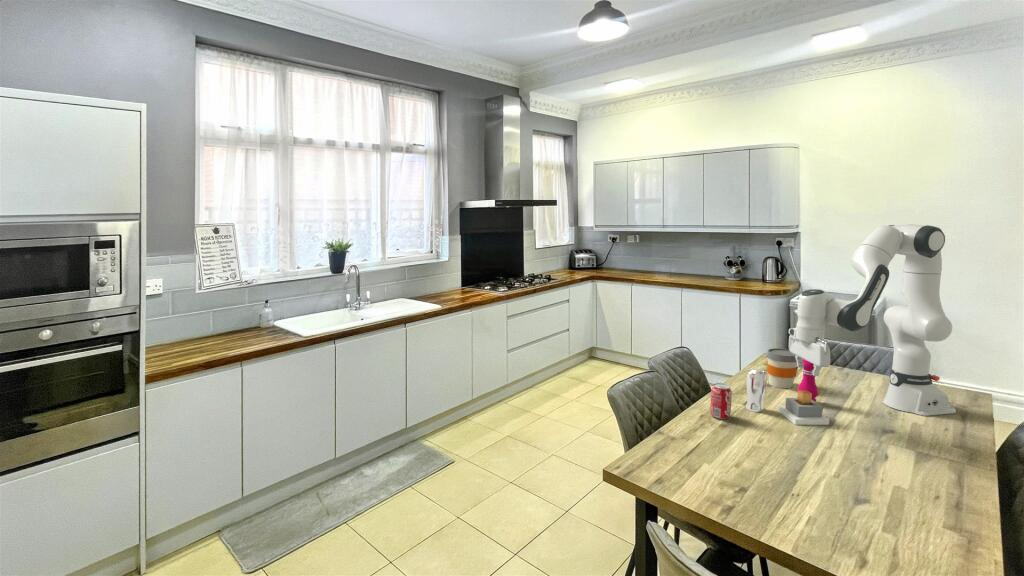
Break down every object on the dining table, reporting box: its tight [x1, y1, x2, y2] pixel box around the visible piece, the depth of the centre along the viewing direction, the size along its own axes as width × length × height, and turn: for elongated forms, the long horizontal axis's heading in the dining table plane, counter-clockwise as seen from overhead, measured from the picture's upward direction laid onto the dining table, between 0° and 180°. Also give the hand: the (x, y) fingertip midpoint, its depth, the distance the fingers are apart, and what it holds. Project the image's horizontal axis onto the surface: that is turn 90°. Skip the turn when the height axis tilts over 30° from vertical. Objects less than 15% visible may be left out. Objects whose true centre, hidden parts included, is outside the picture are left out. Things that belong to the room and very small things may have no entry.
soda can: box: [709, 382, 733, 420], centre depth 182 cm, size 7×7×12 cm
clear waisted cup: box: [745, 368, 768, 413], centre depth 188 cm, size 7×7×15 cm
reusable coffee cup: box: [766, 347, 799, 389], centre depth 215 cm, size 13×13×15 cm
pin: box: [796, 391, 812, 405], centre depth 181 cm, size 3×3×10 cm
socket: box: [777, 397, 830, 426], centre depth 181 cm, size 12×12×6 cm
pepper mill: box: [796, 358, 819, 403], centre depth 194 cm, size 7×7×20 cm
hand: (807, 371), depth 179 cm, fingers open, 8 cm apart
